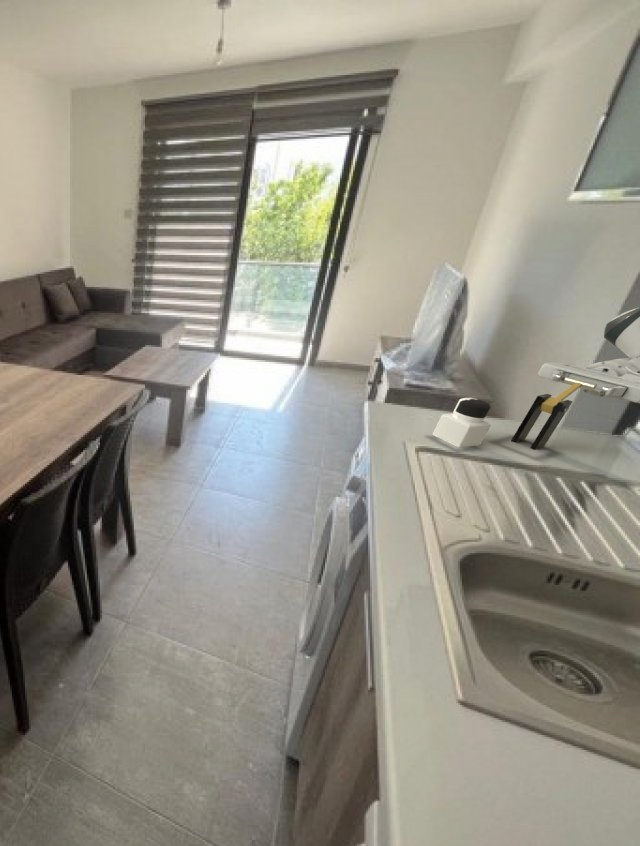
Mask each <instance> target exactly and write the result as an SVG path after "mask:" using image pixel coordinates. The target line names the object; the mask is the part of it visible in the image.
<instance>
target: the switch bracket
mask: <svg viewBox="0 0 640 846" xmlns="http://www.w3.org/2000/svg"><path fill="white" fill-rule="evenodd" d="M552 396H553V395H552V394H549V393H544V394H539V395H537V396H536V398H535V399H534V400H533V403H532V404H531V406H530V408H529V409H528V411H527V413H526V415H525V416H524V417H523V420H522V422H521V423H520V425H519V426H518V428H517V430H516V432H515V433H514V435H513V436H512V438H511V440H510V442H512V443H515V444H516V443H520V442H524V441H526V439H527V437H528V435H529V434H530V432H531V430H532V428H533V427H534V425H535V424H536V422H537V421H538V419H539V417H540V416H541V414H542V412H543V411H540V409H541V406H542V403H543V402H545V401H546V400H547V399H549V398H550V397H552ZM572 404H573V400H570V399H564V400H563V401H561V402H558V404H557V405H556V407H555V409H554V410H553V412H552V413H551V414H550V415H549V416H548V418H547V419H546V421H545V423H544V425H543V426H542V428H541V429H540V431H539V433H538V434H537V436H536V438H535V439H534V441H533V442H532V444H531V446H530V449H531V450H533V451H536V450H539V449H543V448H545V446H546V445H547V443H548V442H549V440H550V438H551V437H552V435H553V434H554V432H555V430H556V429H557V427H558V426H559V424H560V422H561V421H562V419H563V418H564V416H565V415H566V414H567V412H568V411H569V409H570V406H571V405H572Z"/></svg>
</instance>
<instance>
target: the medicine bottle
mask: <svg viewBox="0 0 640 846" xmlns="http://www.w3.org/2000/svg"><path fill="white" fill-rule="evenodd" d="M490 409H491V405H490V404H489V403H487V402H486V401H484V400H481V399H478V398H474V397H463V398H460V399H459V400H458V402H457V404H456V405H455V407H454V410H453V412H452V413H443V414H441V415H440V418H439V420H438V422H437V424H436V427H435V428H434V430H433V432H432V436H433V437H436V438H438V439H440V440H442V441H444V442H446V443H449V444H451V445H453V446H455V447H457V448H469V447H478V446H481V444H482V442H483V440H484V439H485V437H486V435H487V433H488V431H489V430H490V428H491V425H492V424H491V423H489V422H486V421H484V420H485V419H486V417H487V415H488V413H489V411H490Z"/></svg>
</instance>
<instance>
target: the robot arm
mask: <svg viewBox="0 0 640 846" xmlns="http://www.w3.org/2000/svg"><path fill="white" fill-rule="evenodd" d="M603 338H604V339H605V340H607V341H608V342H609V343H611V344H612V345H613V346H615V347H617V348H618V349H619V350H620V351H621V352H622V353H623V354H625V355H626V356H627V357H622V358H615V359H611V360H610V359H609V360H604V361H599V362H594V363H591V364H590V365H588V366H587V367H583V366H579V365H575V364H570V363H566V362H562V361H561V362H559V361H553V362H552V361H551V362H550V361H549V362H544V363H543V364H542V365H541V367H540V368H539V370H538V372H537V376H539V377H540V378H543V379H548V380H550V381H553V382H555V383H562V384H566V385H569V386H572V384H569V383H565V382H564V380H565V378H566V377H571V378H575V379H578V380H582V381H586V382H590V383H594V384H597V387H596V388H595V389H594V390H591V389H587V388H583V387H580V388H579V389H581V390H582V391H583V392H584V393H586V394H587V395H590V396H594V397H601V398H602V397H606V398H613V399H619V400H625V401H629V402H632V403H636V404H640V306H639V307H635V308H633V309H630V310H627V311H625V312H622V313H620V314H619V315H617V316H615V317H613V318H612V319H611V320H610V321H608V322H607V323H606V325H605V327H604V332H603Z"/></svg>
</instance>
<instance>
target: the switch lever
mask: <svg viewBox="0 0 640 846" xmlns="http://www.w3.org/2000/svg"><path fill="white" fill-rule="evenodd" d="M564 382H565V383H569V384H572V385H570V386H569V387H568V388H566V389H565V390H564V391H563V392H561V393H559V395H557V396H556V397H552V396H551V397H550V398H549V399H547V400H546V401H545V402H543V403H542V406H541V409H540V411H542V412H544V413H547V414H550V415H551V413H552V412H553V410H554V409H555V407H556V405H557V404H558V402H561V401H565V400H566V399H567V398H568V397H570V396H571V395H572V394H573V393H575V392H576V391H577V390H579V389H581V388H580V387H583V388H587V389H591V390H594V389H595V388H596V387H597V384H594V383H590V382H586V381H582V380H578V379H575V378H571V377H566V378H565V380H564ZM565 383H564V384H565ZM569 384H568V385H569Z"/></svg>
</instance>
